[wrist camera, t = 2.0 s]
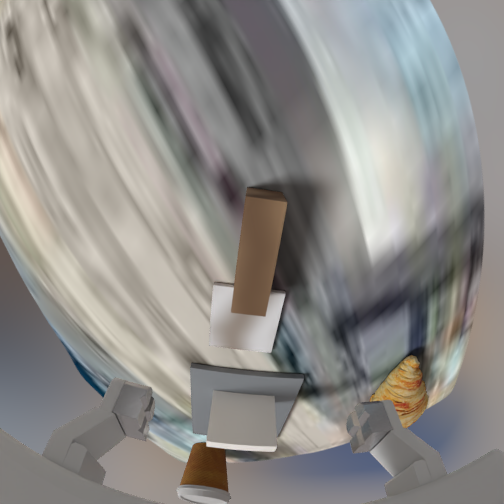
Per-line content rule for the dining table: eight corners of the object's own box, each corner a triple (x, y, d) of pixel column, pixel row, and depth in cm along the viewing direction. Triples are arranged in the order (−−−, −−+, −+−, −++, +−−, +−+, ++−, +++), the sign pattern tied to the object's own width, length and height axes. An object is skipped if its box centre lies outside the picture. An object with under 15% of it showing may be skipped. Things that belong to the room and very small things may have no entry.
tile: (213, 390, 32) (206, 441, 24) (274, 395, 32) (277, 446, 25) (213, 397, 32) (206, 446, 25) (271, 403, 33) (274, 452, 25)
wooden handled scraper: (304, 195, 23) (314, 206, 19) (270, 349, 30) (272, 374, 26) (223, 184, 23) (217, 192, 19) (209, 342, 29) (204, 367, 26)
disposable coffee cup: (243, 449, 41) (241, 503, 30) (216, 460, 44) (211, 507, 33) (200, 433, 38) (191, 491, 27) (176, 446, 41) (166, 495, 30)
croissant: (380, 339, 34) (371, 381, 28) (445, 342, 29) (447, 385, 23) (367, 416, 42) (356, 449, 35) (415, 420, 36) (408, 454, 30)
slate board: (191, 362, 31) (190, 367, 30) (303, 374, 31) (304, 378, 31) (193, 429, 38) (192, 433, 37) (275, 437, 38) (275, 440, 38)
